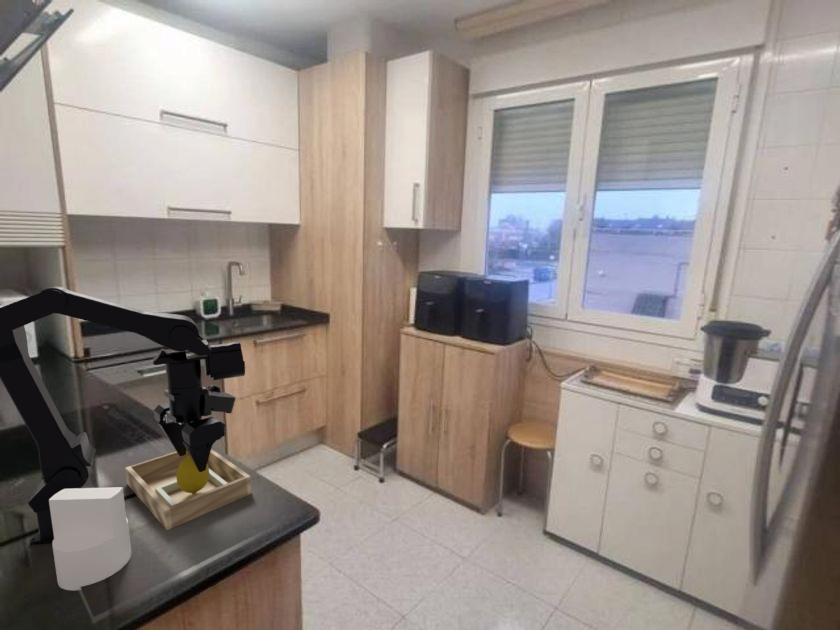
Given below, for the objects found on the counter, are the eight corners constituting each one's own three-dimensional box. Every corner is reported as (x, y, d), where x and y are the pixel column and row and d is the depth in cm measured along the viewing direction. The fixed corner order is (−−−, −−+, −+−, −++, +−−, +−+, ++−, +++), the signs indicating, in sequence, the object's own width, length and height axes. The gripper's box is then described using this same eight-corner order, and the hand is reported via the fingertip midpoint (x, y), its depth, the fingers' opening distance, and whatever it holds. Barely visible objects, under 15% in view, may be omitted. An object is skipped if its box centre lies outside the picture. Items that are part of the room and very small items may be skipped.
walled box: (251, 495, 85) (250, 476, 84) (167, 532, 74) (165, 511, 73) (204, 459, 100) (202, 442, 99) (127, 486, 89) (125, 467, 88)
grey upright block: (144, 546, 71) (136, 476, 69) (107, 589, 62) (97, 510, 60) (86, 548, 70) (77, 478, 68) (40, 591, 61) (29, 512, 60)
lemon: (197, 503, 82) (194, 463, 80) (170, 499, 83) (168, 459, 81) (216, 487, 87) (214, 450, 86) (191, 484, 88) (189, 446, 87)
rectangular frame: (231, 492, 85) (231, 485, 85) (175, 516, 78) (174, 508, 77) (209, 475, 92) (208, 468, 92) (155, 495, 84) (154, 487, 84)
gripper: (251, 384, 81) (256, 463, 84) (208, 366, 93) (213, 435, 96) (187, 399, 73) (195, 487, 75) (149, 377, 85) (157, 453, 88)
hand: (192, 463), depth 84 cm, fingers open, 9 cm apart
